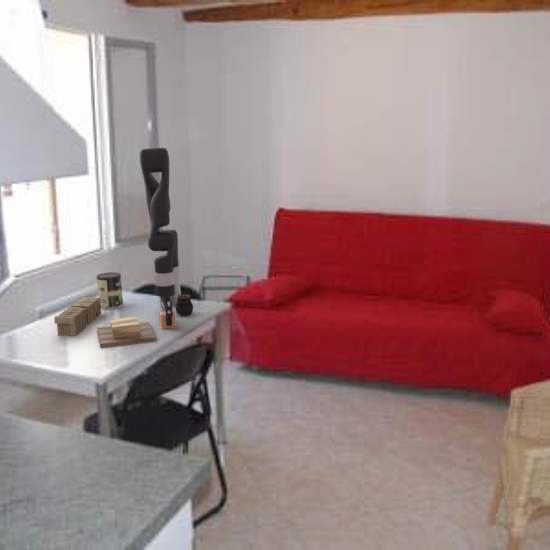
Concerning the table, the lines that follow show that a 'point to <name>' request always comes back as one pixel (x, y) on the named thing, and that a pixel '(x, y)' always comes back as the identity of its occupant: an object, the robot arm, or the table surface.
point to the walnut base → (126, 339)
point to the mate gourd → (184, 305)
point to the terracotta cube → (163, 320)
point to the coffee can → (110, 290)
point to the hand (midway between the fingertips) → (167, 322)
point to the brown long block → (78, 316)
